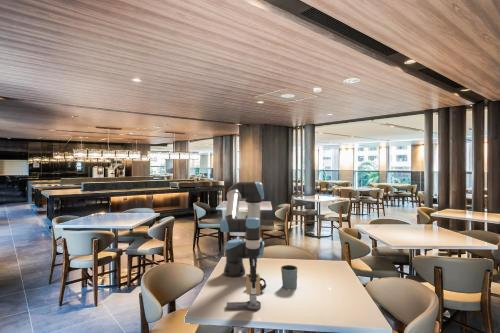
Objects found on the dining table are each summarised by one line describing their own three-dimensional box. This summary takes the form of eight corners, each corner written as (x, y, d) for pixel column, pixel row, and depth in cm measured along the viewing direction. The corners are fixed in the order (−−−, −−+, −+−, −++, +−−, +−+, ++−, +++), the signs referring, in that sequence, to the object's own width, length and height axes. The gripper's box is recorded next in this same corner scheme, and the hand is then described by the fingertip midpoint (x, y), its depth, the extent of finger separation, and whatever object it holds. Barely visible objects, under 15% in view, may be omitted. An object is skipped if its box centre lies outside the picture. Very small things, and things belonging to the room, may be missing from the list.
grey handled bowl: (226, 304, 160) (226, 291, 160) (260, 303, 161) (260, 290, 161) (226, 311, 152) (226, 297, 152) (261, 310, 153) (261, 296, 153)
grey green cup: (297, 290, 178) (297, 270, 178) (280, 289, 180) (280, 269, 180) (297, 284, 188) (297, 265, 188) (281, 283, 190) (281, 264, 190)
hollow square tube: (246, 288, 160) (246, 274, 160) (259, 288, 161) (259, 273, 161) (246, 294, 153) (246, 278, 153) (260, 293, 154) (260, 278, 154)
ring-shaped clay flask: (266, 287, 185) (268, 278, 181) (262, 299, 177) (265, 290, 173) (247, 281, 187) (249, 272, 183) (243, 293, 179) (245, 284, 175)
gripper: (261, 252, 148) (261, 298, 147) (258, 242, 168) (258, 283, 167) (246, 252, 147) (246, 299, 147) (245, 242, 167) (245, 284, 167)
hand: (253, 290), depth 157 cm, fingers closed on hollow square tube, 7 cm apart
